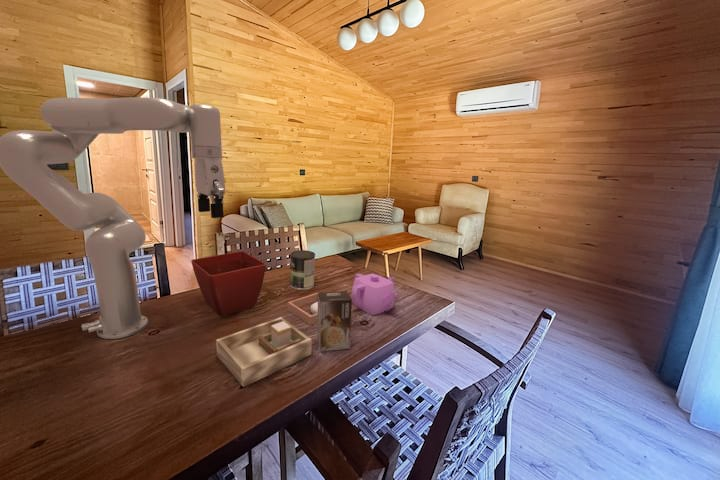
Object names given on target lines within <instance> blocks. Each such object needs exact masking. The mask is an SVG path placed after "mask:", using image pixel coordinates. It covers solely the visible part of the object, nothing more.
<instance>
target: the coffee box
mask: <svg viewBox="0 0 720 480" xmlns="http://www.w3.org/2000/svg"><path fill="white" fill-rule="evenodd" d="M317 293H318V301H317V302H318V318H317V323H316V324H317V326H316V328H317V329H316V331H317V333H316V341H317V345H318V349H319V352H320V353H322V352H331V351H332V352H333V351H339V350H349V349H351V331H352V330H351V329H352V310H353V309H352V308H353V305H352V304H353V303H352V299H351V294H350V293H348V291H347V290H343V291H342V290H339V291H327V292H326V291H325V292H317Z"/></svg>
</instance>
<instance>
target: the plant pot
mask: <svg viewBox="0 0 720 480" xmlns="http://www.w3.org/2000/svg"><path fill="white" fill-rule="evenodd" d="M191 265H192V269H193V273H194V276H195V279H196V281H197V284H198V287H199V290H200V293H201V294H202V296H203V298H204V302H206V304H207V306H208V307H209V308H210V309H211V310H212V311H214V313H215V314H216V315H218V317H224V316H229V315H233V314H234V313H238V312H239V313H240V312H242V311H244V310H248V309H253V308H254V307H256V304H257V302H258V299H259V296H260V293H261V290H262V286H263V283H264V278H265V274H266V273H265V272H266V267H267V266H266V265H267V263H265V262H264V261H262V260H260V259H258V258H257V257H255V256H253V255H251V254H250V253H248V252H246V251H244V250H241V251H234V252H229V253H221V254H216V255H211V256H205V257H200V258H199V257H198V258H193V259H192V260H191Z"/></svg>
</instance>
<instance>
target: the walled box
mask: <svg viewBox="0 0 720 480" xmlns="http://www.w3.org/2000/svg"><path fill="white" fill-rule="evenodd" d="M283 321H284V322H285V323H287V324H288V325H289V326H291V342H289V343H287V344H285V345H282V346H280V347H278V348H276V347H274V346H273V345H272V344H271V325H274V324H277V323H280V322H283ZM312 342H313V341H312V338H310V336H307V334H305V333H304V332H303V331H301V330H300V329H298V328H296V327H295V326H294V325H293V324H291V322H288V321H287V320H286V319H285V318H283V317H282V316H279V317H278V318H277V317H276V318H274V319H272V320H269V321H266V322H263V323H260V324H257V325H254V326H251V327H248V328H246V329H243V330H240V331H237V332H234V333H231V334H229V335H226V336H222V337H220V338H217V339H215V344H216V356H217V357H218V359H219V360H220V361H221V362H222V363H223V365H225V367H226V369H227V370H229V372H230V373H231V375H232V376H233V377H234V378H235V379H236V380H237V382H238V383H239V384H240V385H241V386H242V387H243V388H245V387H247V386H249V385H251V384H253V383H255V382H258V381H259V380H261V379H264V378H265V377H268V376H270V375H272V374H274V373H276V372H279V371H281V370H283V369H285V368H287V367H289V366H291V365H293V364H295V363H297V362H300V361H301V360H303V359H305V358H308V357H309V356H312V344H313V343H312Z"/></svg>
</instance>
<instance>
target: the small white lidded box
mask: <svg viewBox="0 0 720 480" xmlns="http://www.w3.org/2000/svg"><path fill="white" fill-rule="evenodd" d="M289 342H291V326H289V325H288V324H287V323H285V322H284V321H283V322H280V323H277V324H274V325H271V344H272V345H273V346H274V347H276V348H278V347H280V346H282V345H285V344H287V343H289Z"/></svg>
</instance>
